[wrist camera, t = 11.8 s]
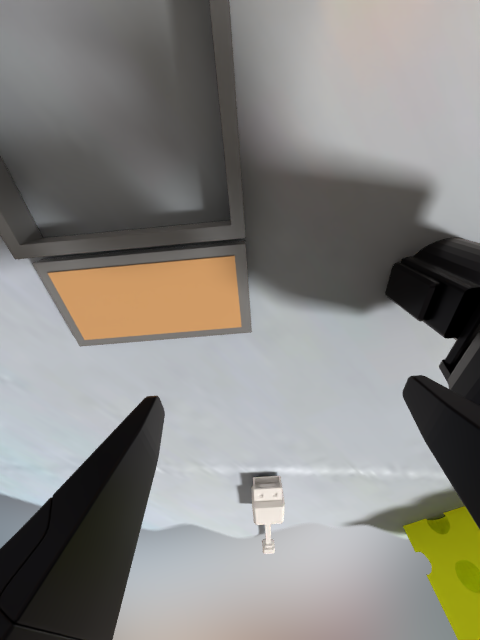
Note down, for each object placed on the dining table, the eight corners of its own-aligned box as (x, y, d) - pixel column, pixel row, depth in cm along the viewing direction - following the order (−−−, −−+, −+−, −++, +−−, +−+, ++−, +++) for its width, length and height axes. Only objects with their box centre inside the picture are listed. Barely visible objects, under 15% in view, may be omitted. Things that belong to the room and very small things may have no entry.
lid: (244, 240, 16) (245, 244, 15) (250, 325, 20) (251, 333, 19) (42, 259, 16) (30, 264, 16) (86, 339, 20) (78, 347, 19)
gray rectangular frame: (203, -351, 7) (193, -522, 5) (244, 231, 16) (245, 237, 14) (-251, -278, 7) (-397, -416, 6) (38, 250, 16) (14, 259, 14)
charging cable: (256, 541, 50) (257, 561, 47) (249, 471, 34) (251, 496, 31) (278, 540, 50) (281, 560, 47) (281, 469, 34) (286, 494, 31)
